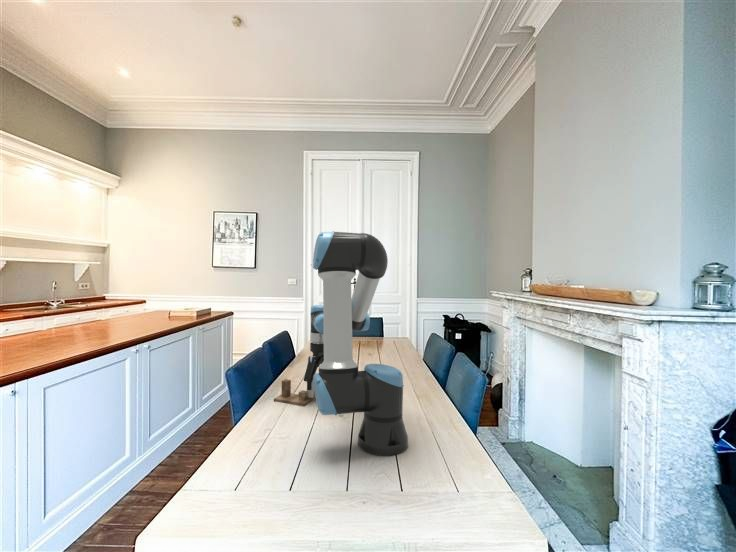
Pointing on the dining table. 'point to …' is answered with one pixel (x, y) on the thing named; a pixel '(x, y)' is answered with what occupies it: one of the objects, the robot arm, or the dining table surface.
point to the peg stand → (293, 395)
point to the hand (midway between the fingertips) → (318, 392)
